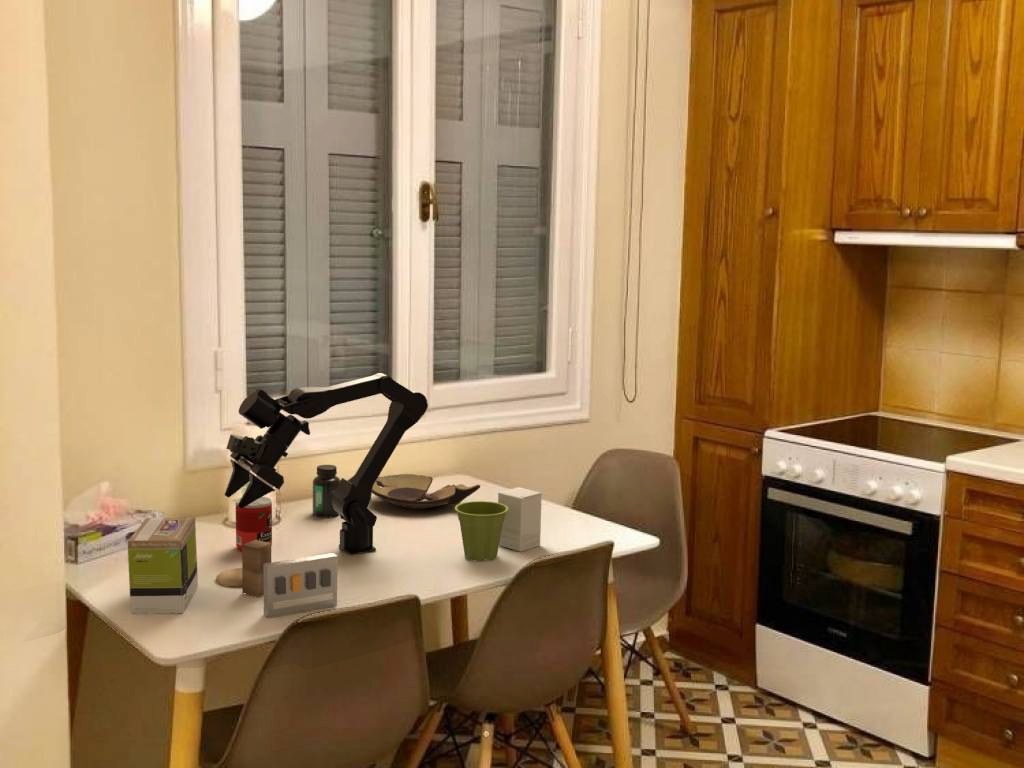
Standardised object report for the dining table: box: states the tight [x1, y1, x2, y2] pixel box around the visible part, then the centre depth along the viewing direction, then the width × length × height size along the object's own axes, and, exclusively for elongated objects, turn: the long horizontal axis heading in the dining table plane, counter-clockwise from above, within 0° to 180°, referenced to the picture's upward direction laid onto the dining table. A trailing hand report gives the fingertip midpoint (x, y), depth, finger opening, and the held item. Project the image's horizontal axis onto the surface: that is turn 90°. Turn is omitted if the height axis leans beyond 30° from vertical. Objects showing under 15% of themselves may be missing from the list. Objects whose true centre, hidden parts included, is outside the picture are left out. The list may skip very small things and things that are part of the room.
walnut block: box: [241, 540, 272, 598], centre depth 222 cm, size 4×4×10 cm
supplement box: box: [497, 486, 543, 552], centre depth 257 cm, size 7×7×13 cm
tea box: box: [127, 516, 199, 615], centre depth 216 cm, size 15×10×15 cm, turn 5°
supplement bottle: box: [312, 464, 341, 518], centre depth 278 cm, size 7×7×12 cm
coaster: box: [216, 567, 242, 588], centre depth 231 cm, size 10×10×1 cm
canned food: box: [235, 496, 273, 553], centre depth 250 cm, size 8×8×11 cm
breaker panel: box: [263, 552, 338, 619], centre depth 213 cm, size 14×3×10 cm, turn 122°
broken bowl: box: [372, 473, 481, 509], centre depth 287 cm, size 22×30×8 cm
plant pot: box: [454, 500, 509, 562], centre depth 249 cm, size 12×12×11 cm
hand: (232, 501), depth 235 cm, fingers open, 9 cm apart
